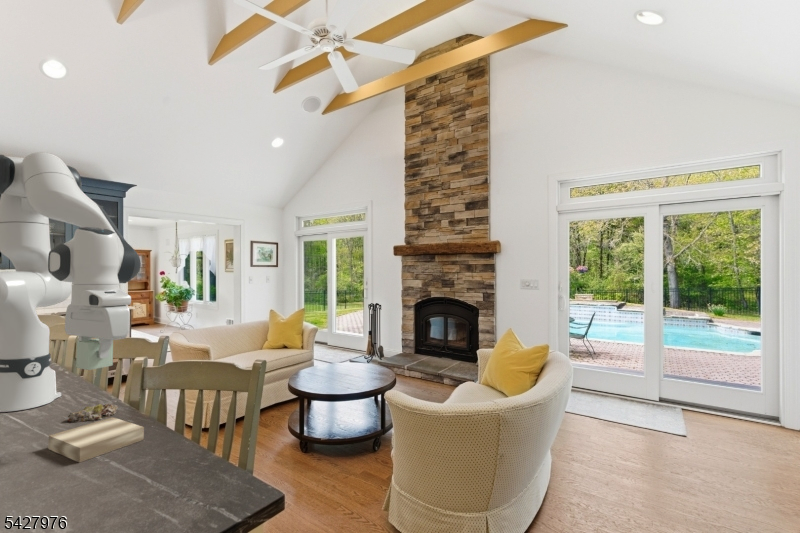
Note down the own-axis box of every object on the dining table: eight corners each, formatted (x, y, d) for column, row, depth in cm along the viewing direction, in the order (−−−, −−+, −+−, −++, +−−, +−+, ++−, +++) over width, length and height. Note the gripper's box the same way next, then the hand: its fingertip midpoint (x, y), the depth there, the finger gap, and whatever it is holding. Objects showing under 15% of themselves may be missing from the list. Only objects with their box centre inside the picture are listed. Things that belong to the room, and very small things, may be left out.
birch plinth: (48, 449, 88) (48, 435, 88) (112, 429, 100) (112, 417, 100) (79, 462, 82) (80, 448, 82) (143, 439, 94) (144, 427, 94)
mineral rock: (115, 401, 115) (119, 400, 109) (115, 416, 114) (119, 416, 108) (66, 410, 107) (68, 409, 102) (66, 427, 106) (68, 427, 101)
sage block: (76, 367, 90) (76, 341, 91) (100, 363, 95) (101, 338, 95) (88, 370, 88) (88, 343, 88) (112, 365, 93) (113, 339, 93)
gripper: (56, 296, 94) (55, 354, 93) (105, 298, 85) (104, 363, 84) (87, 295, 99) (86, 350, 99) (135, 297, 90) (135, 358, 90)
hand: (94, 356), depth 92 cm, fingers closed on sage block, 5 cm apart
